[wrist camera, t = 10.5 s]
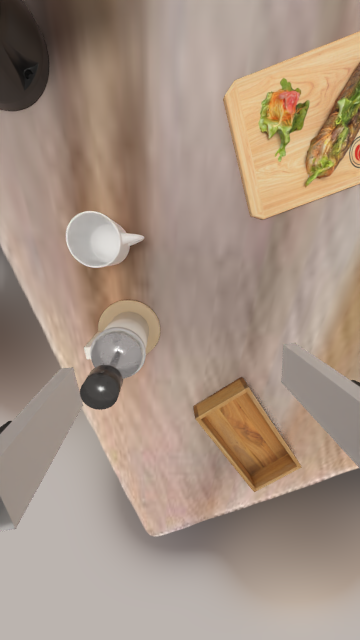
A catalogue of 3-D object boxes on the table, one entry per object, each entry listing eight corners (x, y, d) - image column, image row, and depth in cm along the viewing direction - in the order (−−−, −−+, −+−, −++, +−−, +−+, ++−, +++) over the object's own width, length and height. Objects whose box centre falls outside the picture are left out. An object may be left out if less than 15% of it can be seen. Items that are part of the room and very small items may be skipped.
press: (92, 304, 48) (66, 321, 36) (155, 296, 49) (151, 310, 36) (106, 360, 52) (87, 394, 40) (164, 352, 53) (163, 383, 40)
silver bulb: (87, 335, 36) (55, 368, 26) (137, 329, 36) (126, 358, 26) (98, 379, 39) (73, 426, 28) (146, 373, 39) (138, 416, 28)
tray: (192, 404, 58) (195, 420, 53) (241, 375, 57) (249, 388, 51) (246, 473, 67) (254, 492, 61) (290, 449, 65) (302, 467, 59)
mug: (149, 261, 47) (145, 262, 36) (93, 267, 46) (72, 270, 36) (143, 217, 44) (137, 206, 34) (84, 223, 44) (59, 213, 34)
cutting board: (250, 223, 46) (266, 218, 39) (220, 92, 40) (232, 56, 33) (411, 164, 45) (457, 147, 38) (407, 18, 39) (463, -36, 31)
